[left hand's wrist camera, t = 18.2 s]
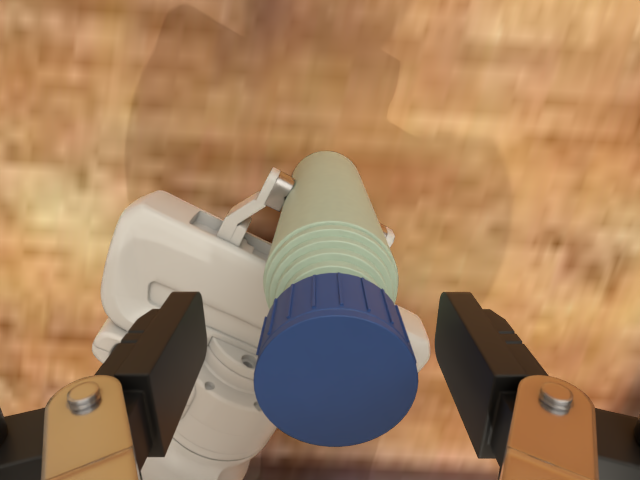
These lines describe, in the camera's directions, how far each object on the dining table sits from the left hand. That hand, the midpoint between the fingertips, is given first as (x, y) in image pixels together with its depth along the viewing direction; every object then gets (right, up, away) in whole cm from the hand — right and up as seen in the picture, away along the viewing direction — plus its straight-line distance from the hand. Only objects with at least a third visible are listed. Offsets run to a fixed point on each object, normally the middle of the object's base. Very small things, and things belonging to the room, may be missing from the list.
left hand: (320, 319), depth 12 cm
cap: (0, -1, -1) cm, 2 cm away
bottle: (0, +6, +18) cm, 19 cm away
